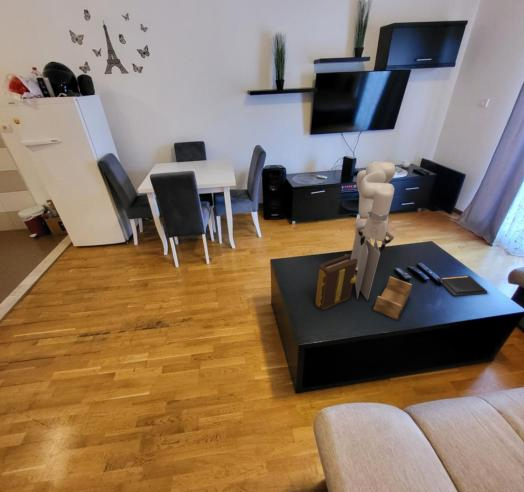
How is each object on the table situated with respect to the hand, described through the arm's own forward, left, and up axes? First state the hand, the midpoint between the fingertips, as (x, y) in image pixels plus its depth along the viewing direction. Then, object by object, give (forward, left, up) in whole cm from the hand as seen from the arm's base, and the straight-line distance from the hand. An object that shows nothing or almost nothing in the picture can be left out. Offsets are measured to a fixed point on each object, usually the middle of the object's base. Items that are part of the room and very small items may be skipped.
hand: (371, 247), depth 137 cm
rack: (+16, 0, -29) cm, 33 cm away
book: (-9, -15, -29) cm, 34 cm away
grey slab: (0, 0, -29) cm, 29 cm away
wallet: (+43, +37, -29) cm, 64 cm away
